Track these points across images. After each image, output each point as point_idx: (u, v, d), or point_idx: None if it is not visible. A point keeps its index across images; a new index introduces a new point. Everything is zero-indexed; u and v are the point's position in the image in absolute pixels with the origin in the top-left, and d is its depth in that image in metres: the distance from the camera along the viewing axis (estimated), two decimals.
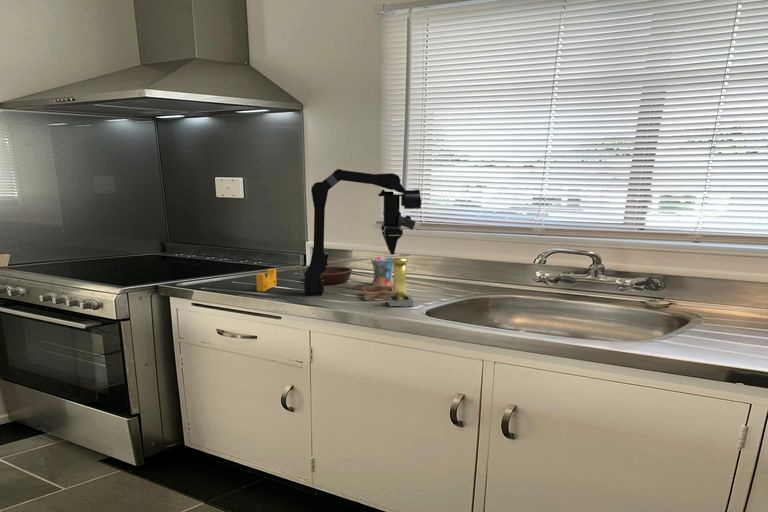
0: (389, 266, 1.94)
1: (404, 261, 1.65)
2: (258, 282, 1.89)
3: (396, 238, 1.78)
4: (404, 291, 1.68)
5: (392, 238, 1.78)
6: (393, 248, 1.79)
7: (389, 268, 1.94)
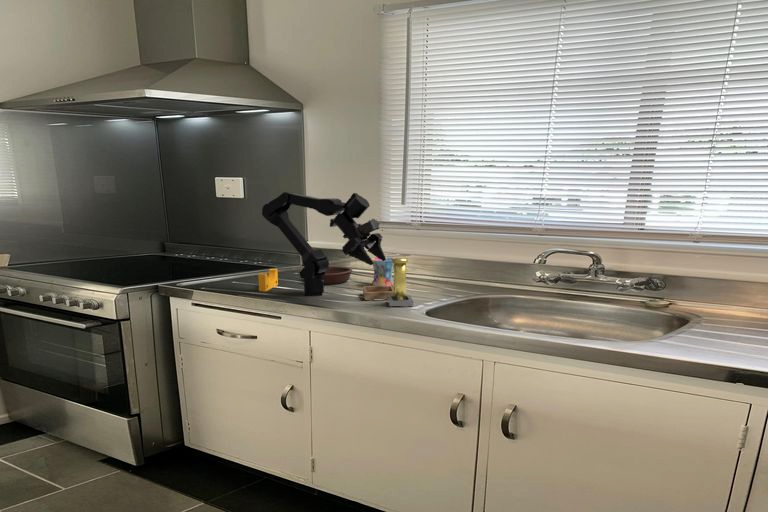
0: (389, 266, 1.94)
1: (404, 261, 1.65)
2: (260, 282, 1.89)
3: (360, 249, 1.66)
4: (404, 291, 1.68)
5: (359, 251, 1.67)
6: (367, 259, 1.67)
7: (389, 268, 1.94)
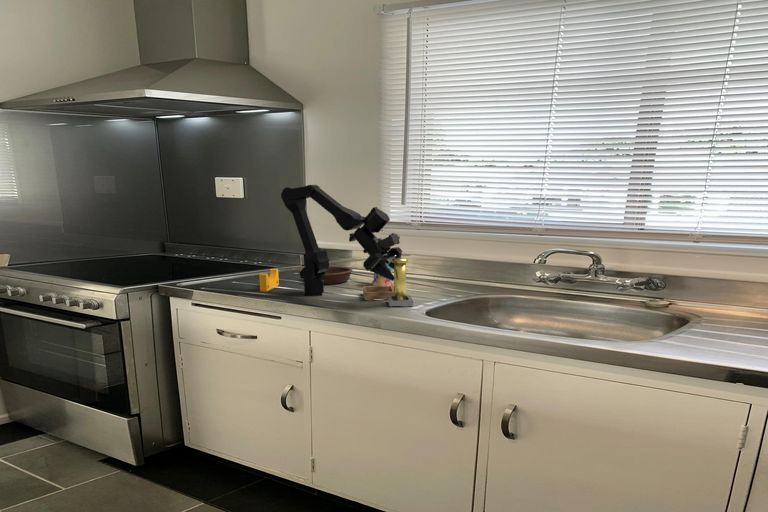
0: None
1: (404, 261, 1.65)
2: (261, 282, 1.89)
3: (381, 264, 1.63)
4: (404, 291, 1.68)
5: (380, 267, 1.64)
6: (388, 274, 1.64)
7: (389, 268, 1.94)
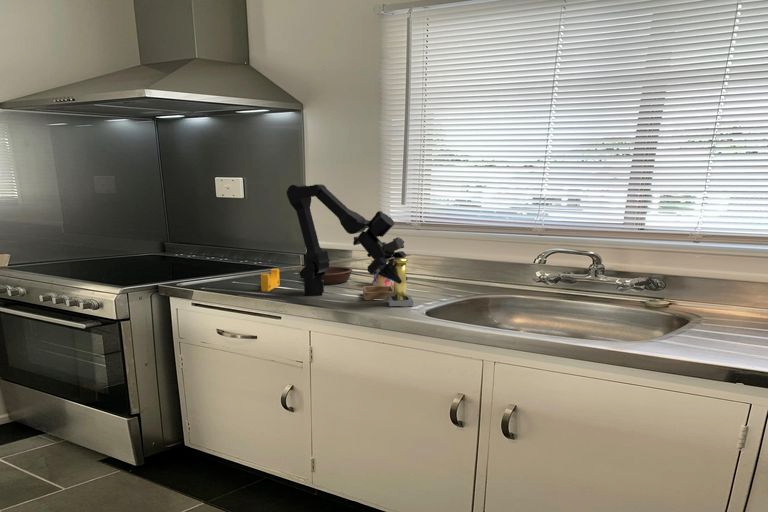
0: None
1: (404, 261, 1.65)
2: (263, 282, 1.89)
3: (389, 267, 1.65)
4: (404, 291, 1.68)
5: (387, 270, 1.66)
6: (396, 277, 1.65)
7: None
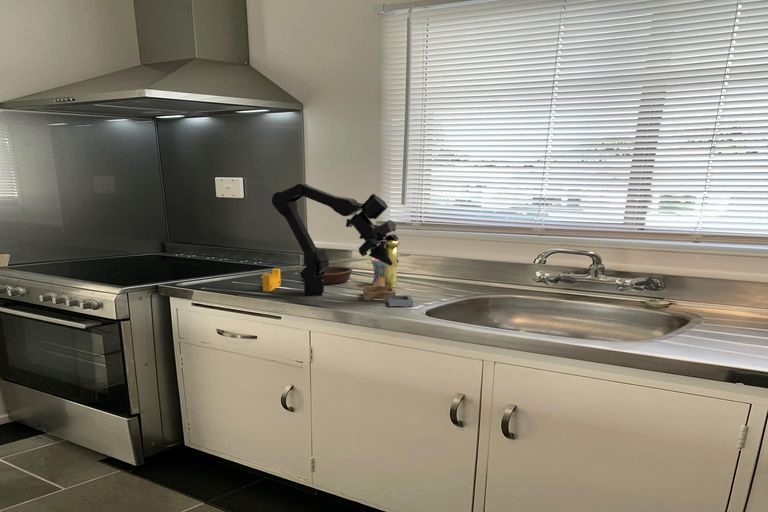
0: None
1: (396, 243, 1.68)
2: (264, 282, 1.89)
3: (380, 249, 1.68)
4: (395, 273, 1.70)
5: (379, 252, 1.69)
6: (386, 259, 1.68)
7: None
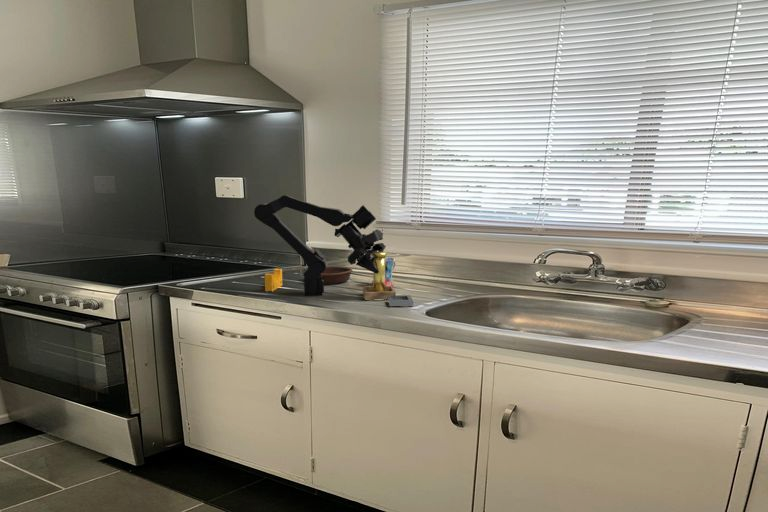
0: (389, 266, 1.94)
1: (384, 254, 1.75)
2: (266, 282, 1.89)
3: (366, 258, 1.74)
4: (383, 283, 1.78)
5: (365, 260, 1.75)
6: (373, 267, 1.74)
7: (389, 268, 1.94)
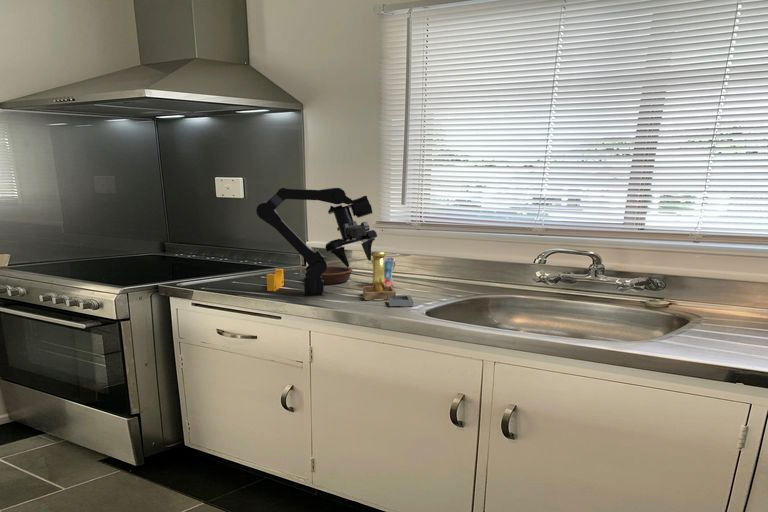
0: (389, 266, 1.94)
1: (382, 254, 1.76)
2: (268, 282, 1.88)
3: (339, 251, 1.77)
4: (382, 283, 1.78)
5: (340, 252, 1.79)
6: (344, 261, 1.78)
7: (389, 268, 1.94)
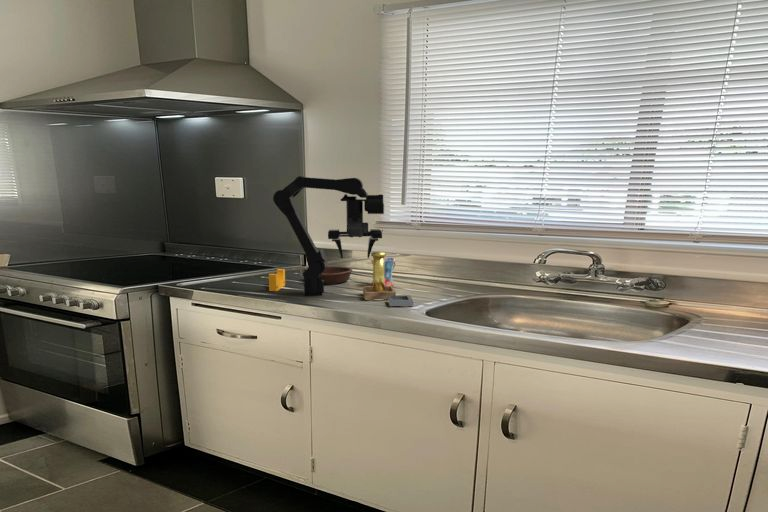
0: (389, 266, 1.94)
1: (382, 254, 1.75)
2: (270, 282, 1.88)
3: None
4: (382, 283, 1.78)
5: None
6: None
7: (389, 268, 1.94)
